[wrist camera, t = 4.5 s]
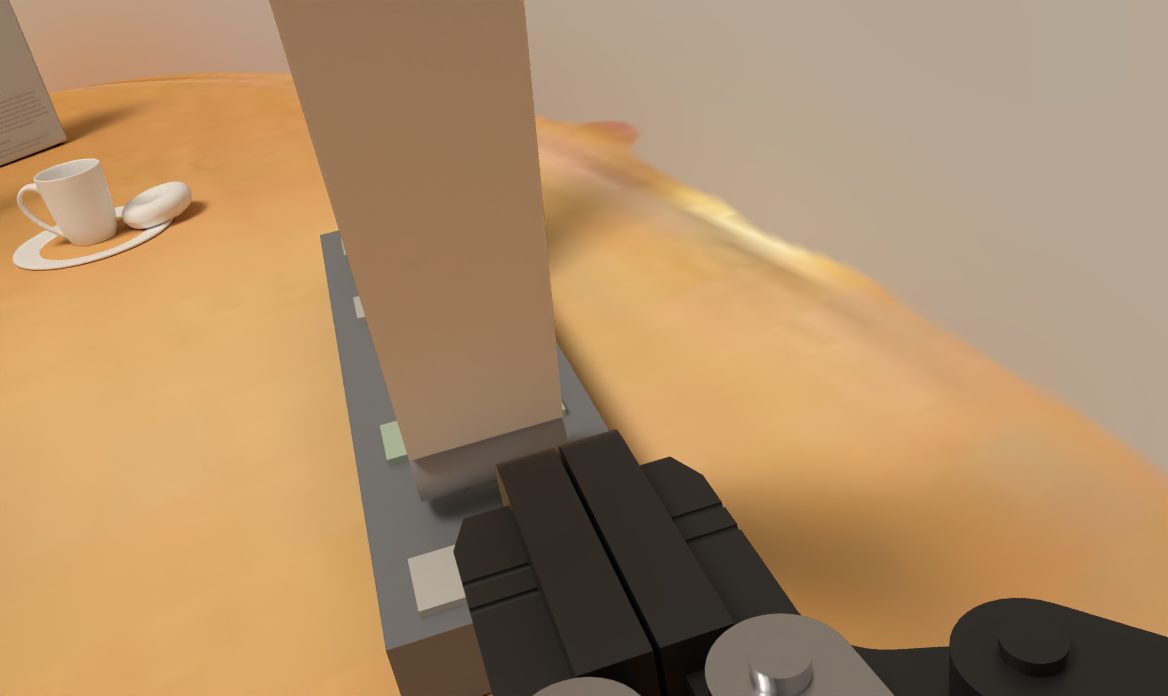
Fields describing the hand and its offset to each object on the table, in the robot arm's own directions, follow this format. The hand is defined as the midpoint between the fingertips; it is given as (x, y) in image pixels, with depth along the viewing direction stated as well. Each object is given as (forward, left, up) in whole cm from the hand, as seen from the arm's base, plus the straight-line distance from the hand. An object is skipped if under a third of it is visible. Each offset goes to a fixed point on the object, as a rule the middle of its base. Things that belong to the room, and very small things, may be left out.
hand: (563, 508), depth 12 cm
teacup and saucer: (-13, +43, -10) cm, 46 cm away
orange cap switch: (0, +11, -6) cm, 12 cm away
